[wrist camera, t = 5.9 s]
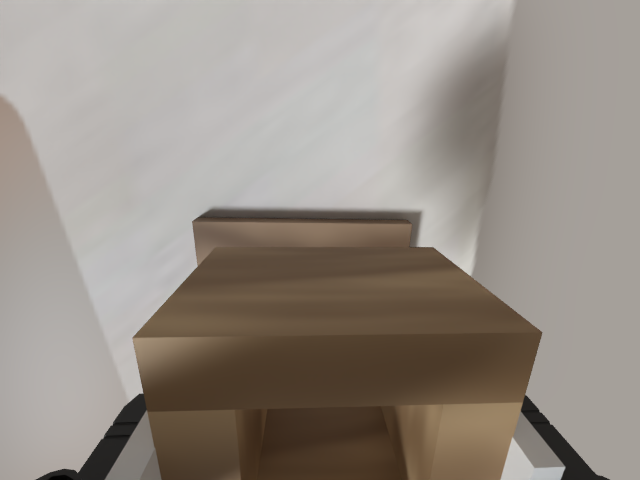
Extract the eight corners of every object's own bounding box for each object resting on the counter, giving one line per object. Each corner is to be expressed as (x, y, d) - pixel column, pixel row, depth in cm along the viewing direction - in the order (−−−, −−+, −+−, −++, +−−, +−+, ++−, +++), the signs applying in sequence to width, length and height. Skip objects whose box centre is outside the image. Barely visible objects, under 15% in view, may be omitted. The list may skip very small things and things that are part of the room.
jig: (198, 217, 28) (167, 240, 22) (407, 219, 29) (434, 242, 23) (215, 370, 34) (195, 421, 28) (388, 367, 35) (406, 417, 29)
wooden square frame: (215, 246, 12) (132, 337, 6) (433, 247, 12) (542, 332, 7) (238, 496, 16) (202, 685, 11) (399, 490, 17) (448, 668, 11)
